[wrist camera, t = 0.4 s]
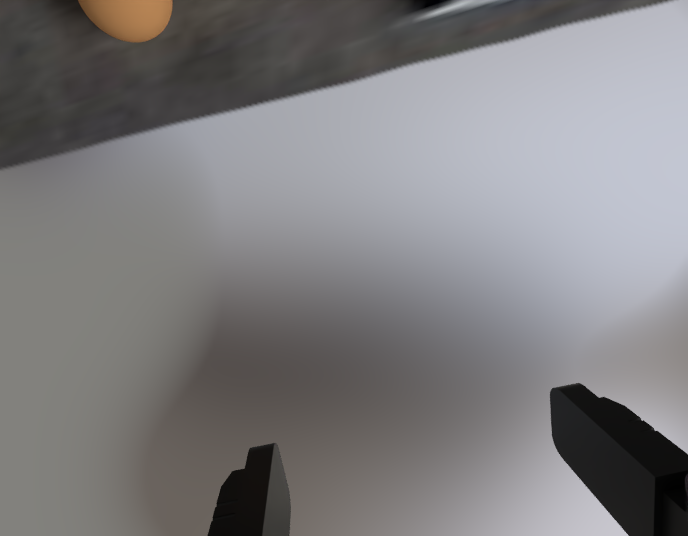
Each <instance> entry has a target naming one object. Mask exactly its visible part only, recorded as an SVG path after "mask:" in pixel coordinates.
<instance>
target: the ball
mask: <svg viewBox="0 0 688 536" xmlns="http://www.w3.org/2000/svg"><path fill="white" fill-rule="evenodd" d="M78 1H79V3H80V5H81V7H82V9H83V10H84V12H85V14H86V15H87V16H88V17H89V19H90V20H91V21H92V22H93V23H94V24H95V25H96V26H97V27H98V28H100V29H101V30H102V31H104V32H105V33H107V34H109V35H110V36H112V37H114V38H117V39H119V40H123V41H127V42H144V41H148V40H150V39H152V38H154V37H156V36H157V35H159V34H160V33H161V32H162V31H163V30H164V29H165V27H166V26H167V24H168V22H169V20H170V17H171V13H172V0H78Z"/></svg>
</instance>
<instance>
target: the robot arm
mask: <svg viewBox="0 0 688 536" xmlns="http://www.w3.org/2000/svg"><path fill="white" fill-rule="evenodd" d="M550 404H551V425H552V437H553V441H554V444H555V446H556V449H557V451H558V452H559V454H560V455H561V457H562V458H563V459H564V461H565V462H566V463H567V464H568V465H569V466H570V467H571V469H572V470H573V471H574V472H575V473H576V475H577V476H578V477H579V478H580V479H581V480H582V482H583V483H584V484H585V485H586V486H587V487H588V489H589V490H590V491H591V492H592V493H593V494H594V496H596V498H597V499H598V500H599V501H600V503H601V504H602V505H603V506H604V507H605V508H606V510H607V511H608V512H609V513H610V514H611V515H612V517H613V518H614V519H615V520H616V521H617V522H618V523H619V525H620V526H621V527H622V528H623V529H624V531H625V532H626V533H627V534H628V535H629V536H688V454H687V453H685V452H684V451H683V450H681V449H680V448H678V446H676V445H675V444H674V443H672V442H671V441H670V440H668V439H667V438H666V437H664V436H663V435H662V434H661V433H659V432H658V431H655V430H654V428H653V427H652V426H650V425H649V424H648V423H646V422H645V421H642V420H641V418H640V417H639V416H637V415H636V414H635V413H633V412H632V411H631V410H629V409H628V408H627V407H625V406H624V405H621V404H619V403H617V402H614V401H612V400H610V399H608V398H605V397H601V398H598V397H597V396H596V395H595V394H593V393H592V392H591V391H590V390H589V389H587V388H586V387H585V386H583V385H582V384H580V383H576V384H571V385H566V386H561V387H556V388H552V390H551V392H550ZM290 510H291V506H290V495H289V488H288V484H287V480H286V476H285V472H284V468H283V464H282V460H281V456H280V452H279V448H278V445H277V444H276V443H272V444H268V445H263V446H257V447H252V448H250V449H249V452H248V456H247V461H246V466H245V469H241V470H235V471H232V473H231V474H230V476H229V477H228V478H227V479H226V481H225V482H224V484H223V485H222V486H221V489H220V493H219V496H218V500H217V507H216V508H215V511H214V515H213V521H212V522H211V525H210V529H209V533H208V536H289V530H290V512H291V511H290Z"/></svg>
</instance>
